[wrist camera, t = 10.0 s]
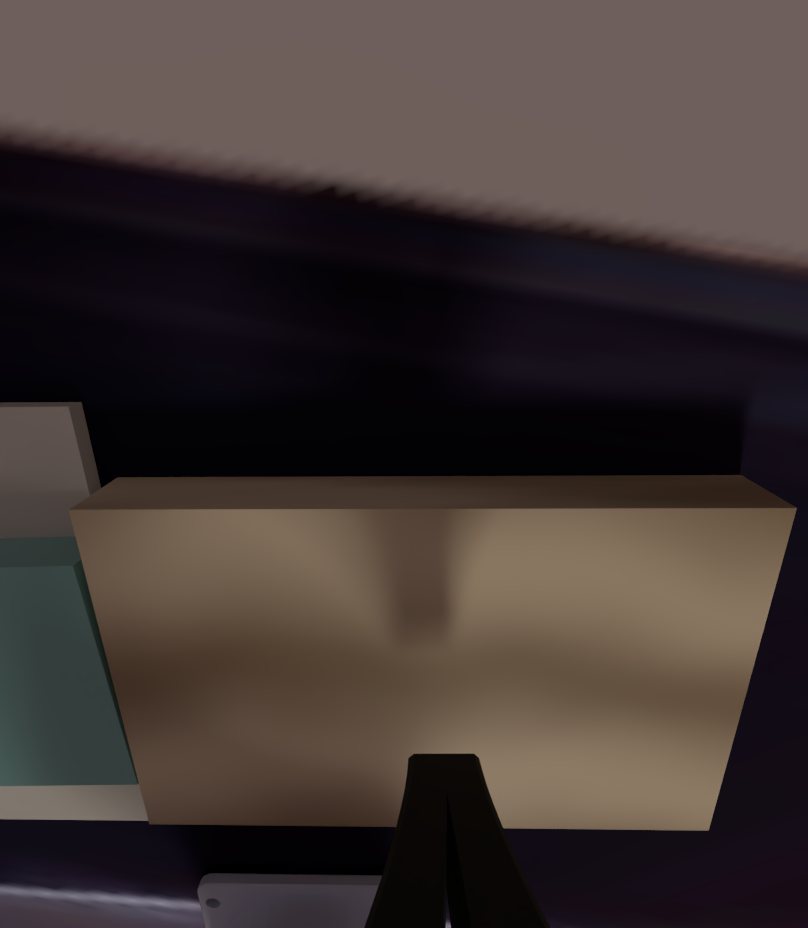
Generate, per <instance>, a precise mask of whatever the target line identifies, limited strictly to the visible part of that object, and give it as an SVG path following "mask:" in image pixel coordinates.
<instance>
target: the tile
mask: <svg viewBox="0 0 808 928" xmlns="http://www.w3.org/2000/svg"><path fill="white" fill-rule="evenodd" d="M138 783H139V782H138V778H137V774H136V770H135V767H134V763H133V759H132V755H131V751H130V747H129V743H128V739H127V735H126V732H125V728H124V724H123V720H122V716H121V712H120V708H119V704H118V700H117V696H116V693H115V689H114V685H113V681H112V677H111V673H110V669H109V665H108V661H107V658H106V654H105V650H104V646H103V642H102V638H101V634H100V630H99V626H98V623H97V619H96V615H95V611H94V607H93V603H92V599H91V595H90V591H89V587H88V584H87V580H86V576H85V572H84V568H83V564H82V560H81V556H80V552H79V549H78V545H77V541H76V537H75V536H74V537H37V538H0V786H65V785H138Z"/></svg>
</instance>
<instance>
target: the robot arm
mask: <svg viewBox="0 0 808 928" xmlns="http://www.w3.org/2000/svg"><path fill="white" fill-rule="evenodd" d="M446 889H447V897H448V905H449V913H450V922H451V928H550V927H549V925H548V923H547V921H546V919H545V917H544V915H543V913H542V911H541V909H540V907H539V905H538V903H537V901H536V899H535V897H534V895H533V893H532V891H531V889H530V887H529V885H528V883H527V880H526V878H525V876H524V874H523V872H522V869H521V867H520V865H519V863H518V861H517V858H516V856H515V854H514V852H513V850H512V847H511V845H510V843H509V841H508V838H507V836H506V834H505V831H504V829H503V826H502V824H501V821H500V819H499V816H498V814H497V811H496V809H495V806H494V804H493V801H492V798H491V795H490V793H489V790H488V787H487V784H486V781H485V777H484V774H483V771H482V767H481V764H480V760H479V758H478V757H477V756H476V755H475V754H413V755H412V756H410V757H409V758H408V770H407V777H406V784H405V790H404V795H403V800H402V805H401V809H400V813H399V817H398V821H397V826H396V829H395V833H394V836H393V840H392V843H391V847H390V850H389V854H388V857H387V861H386V864H385V868H384V871H383V874H382V875H323V874H248V873H210V874H207V875H205V876H203V878H202V879H201V881H200V884H199V887H198V896H199V901H200V905H201V910H202V914H203V919H204V923H205V927H206V928H445V925H446Z"/></svg>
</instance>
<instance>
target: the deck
mask: <svg viewBox="0 0 808 928" xmlns="http://www.w3.org/2000/svg"><path fill="white" fill-rule="evenodd" d="M796 509H797V508H796V507H794V506H792V505H791V504H789V503H787V502H786V501H784V500H782V499H781V498H779V497H777V496H776V495H774V494H772V493H770V492H769V491H767V490H765V489H764V488H762V487H760V486H759V485H757V484H755V483H754V482H752V481H750V480H748V479H747V478H745V477H743V476H742V475H613V476H338V477H117V478H116V479H114V480H113V481H111V482H110V483H108V484H107V485H105V486H104V487H102V488H101V489H99V490H98V491H96V492H95V493H93V494H92V495H90V496H89V497H87V498H86V499H84V500H83V501H81V502H79V503H78V504H76V505H75V506H73V507H72V508H70V509H69V514H70V517H71V521H72V525H73V529H74V533H75V537H76V541H77V545H78V549H79V552H80V556H81V560H82V564H83V568H84V572H85V576H86V580H87V584H88V587H89V591H90V595H91V599H92V603H93V607H94V611H95V615H96V619H97V623H98V626H99V630H100V634H101V638H102V642H103V646H104V650H105V654H106V658H107V661H108V665H109V669H110V673H111V677H112V681H113V685H114V689H115V693H116V696H117V700H118V704H119V708H120V712H121V716H122V720H123V724H124V728H125V732H126V735H127V739H128V743H129V747H130V751H131V755H132V759H133V763H134V767H135V770H136V774H137V778H138V782H139V786H140V790H141V794H142V798H143V802H144V805H145V809H146V813H147V817H148V821H149V824H180V825H269V826H357V827H396V826H397V821H398V817H399V813H400V809H401V805H402V800H403V795H404V790H405V784H406V777H407V770H408V758H409V757H410V756H412V755H413V754H475V755H476V756H477V757H478V758H479V760H480V764H481V767H482V771H483V774H484V777H485V781H486V784H487V787H488V790H489V793H490V795H491V798H492V801H493V804H494V806H495V809H496V811H497V814H498V816H499V819H500V821H501V824H502V826H503V828H534V829H623V830H709V827H710V823H711V820H712V816H713V812H714V809H715V805H716V801H717V798H718V794H719V791H720V787H721V783H722V780H723V776H724V772H725V769H726V765H727V761H728V758H729V754H730V750H731V747H732V743H733V739H734V736H735V732H736V728H737V725H738V721H739V717H740V714H741V710H742V707H743V703H744V699H745V696H746V692H747V688H748V685H749V681H750V677H751V674H752V670H753V666H754V663H755V659H756V655H757V652H758V648H759V644H760V641H761V637H762V633H763V630H764V626H765V622H766V619H767V615H768V612H769V608H770V604H771V601H772V597H773V593H774V590H775V586H776V582H777V579H778V575H779V571H780V568H781V564H782V560H783V557H784V553H785V549H786V546H787V542H788V538H789V535H790V531H791V528H792V524H793V520H794V517H795V513H796Z"/></svg>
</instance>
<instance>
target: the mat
mask: <svg viewBox="0 0 808 928" xmlns="http://www.w3.org/2000/svg"><path fill="white" fill-rule="evenodd" d="M99 489H101V485H100V480H99V476H98V472H97V467H96V463H95V459H94V454H93V450H92V446H91V441H90V437H89V432H88V428H87V424H86V419H85V415H84V411H83V406H82V402H4V403H0V538H37V537H74V536H75V533H74V529H73V525H72V521H71V517H70V514H69V509H70V508H72V507H73V506H75V505H76V504H78V503H79V502H81V501H83V500H84V499H86V498H87V497H89V496H90V495H92V494H93V493H95V492H96V491H98V490H99ZM0 819H45V820H135V821H148V817H147V813H146V809H145V805H144V802H143V798H142V794H141V790H140V786H139V783H138V785H65V786H0Z"/></svg>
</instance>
